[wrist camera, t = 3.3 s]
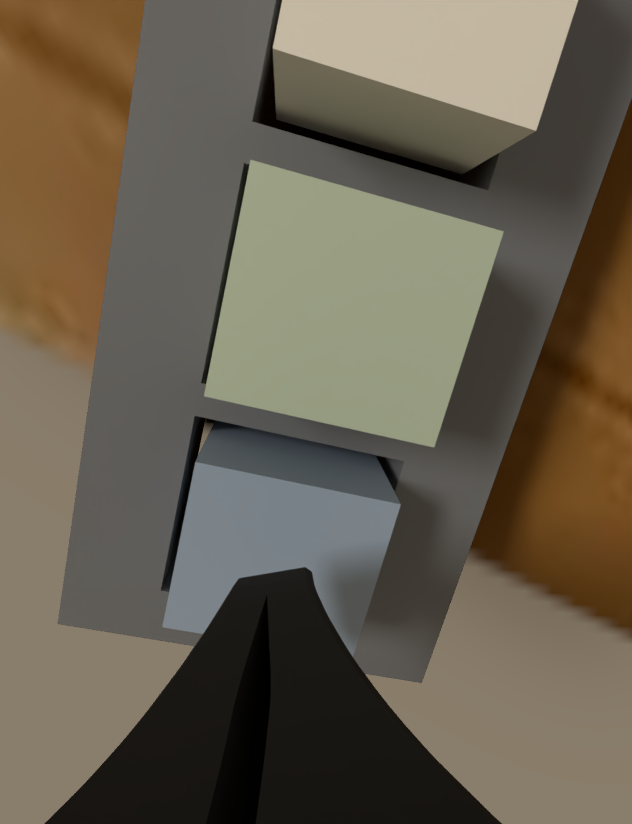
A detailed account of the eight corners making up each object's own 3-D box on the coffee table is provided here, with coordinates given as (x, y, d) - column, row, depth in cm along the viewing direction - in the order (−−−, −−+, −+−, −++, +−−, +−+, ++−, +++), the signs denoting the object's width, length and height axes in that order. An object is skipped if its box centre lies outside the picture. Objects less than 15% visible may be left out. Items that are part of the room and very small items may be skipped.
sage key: (441, 245, 12) (503, 231, 8) (395, 403, 13) (434, 447, 9) (260, 195, 11) (250, 159, 8) (225, 363, 12) (203, 396, 9)
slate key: (372, 450, 14) (400, 504, 11) (337, 572, 15) (352, 658, 12) (217, 416, 13) (195, 461, 10) (190, 545, 14) (162, 627, 11)
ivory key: (520, -24, 11) (632, -167, 7) (462, 174, 11) (536, 130, 8) (320, -95, 10) (338, -285, 7) (276, 119, 11) (272, 48, 8)
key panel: (621, -36, 12) (709, -118, 10) (401, 621, 17) (421, 682, 14) (212, -185, 11) (190, -324, 8) (94, 567, 15) (57, 623, 13)
